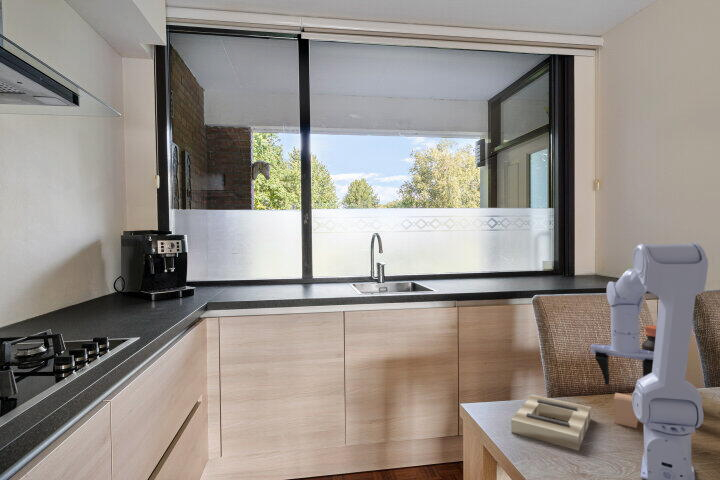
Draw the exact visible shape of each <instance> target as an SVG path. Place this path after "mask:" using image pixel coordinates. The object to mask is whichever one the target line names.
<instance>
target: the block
mask: <svg viewBox="0 0 720 480" xmlns="http://www.w3.org/2000/svg"><path fill="white" fill-rule="evenodd" d="M638 421H639V419H638V418H637V417H636V415H635V413H634V410H633V406H632V395H631V394H625V393H618V392H615V393H614V397H613V422H614V423H613V424H617V425H621V426H627V427H630V428H633V429H634V428H635V429H637V428H638V423H639V422H638Z"/></svg>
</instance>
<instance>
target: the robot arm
mask: <svg viewBox="0 0 720 480" xmlns="http://www.w3.org/2000/svg"><path fill="white" fill-rule="evenodd" d="M632 266H633V268H632V267H631V268H630V267H629V268H627V270H626V271H625V272H623V274H622V275H620V278H619V279H618V280H617V281H615V282H614V281H608V283H607V285H606V300H607V302H608V304H609V306H610V344H595V343H592V344H590V354H593V355H595V357H594V359H595V361H596V363H597V364H598V366H599V368H600V370H601V372H602V376H603V378H604V379H603V380H604V384H605V385H607V386H609V384H610V371H609V370H610V369H609V365H610V364H609V361H610V360H609V359H610V356H614V357H618V358H619V357H620V358H626V359H635V360H641V361H642V360H644V363H643V369H644V377H643V376H642V377H641V378H639V379H637V380H636V384H635V389H634V390H633V392H632V395H631V396H632V406H633V410H634V413H635V415H636V417H637V418H638V421H639V422H640V423H642V424H643V454H642V458H641V469H640V478H641V479H643V480H696V476H695V468H694V466H693V465H692V434H695V433H696V429H697V428H700V427H701V425H703V422H704V410H703V397H702V395H701V393H700V391H699V390H698V389H697V387H695V385H694V384H692V383H691V382H689V381H688V380H686V376H687V374H686V373H687V369H688V360H689V353H690V351H689V350H690V343H691V338H692V337H691V336H692V327H693V321H694V320H693V319H694V312H695V304H696V296H698V295H699V294H701V293H703V292H704V291H705V288H706V284H707V277H708V268H709V260H708V257H707V253H706V251H705V250H704V248H703V247H702V246H701V245H700V244H698V243H697V242H691V243H673V244H672V243H670V244H668V243H667V244H664V243H663V244H645V243H639V244H638V245H637V246H636V247H635V248H634V250H633V252H632ZM647 292H648V293H650V294H653V295H654V296H657V297H658V300H659V301H658V310H657V320H656V326H657V328H656V338H655V348H654V352H652V351H647V350H642V348H640V314H642V307H643V306H642V305H643V303H644V302H643V301H644V295H645V294H646V293H647ZM643 369H642V370H643Z"/></svg>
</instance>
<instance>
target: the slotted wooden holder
mask: <svg viewBox="0 0 720 480" xmlns="http://www.w3.org/2000/svg"><path fill="white" fill-rule="evenodd" d="M549 417H550V418H549ZM553 418H555V419H553ZM557 419H559V420H557ZM562 420H563V421H562ZM591 421H592V406H587V405H583V404H579V403H574V402H570V401H563V400H559V399H556V398H555V399H554V398H550V397H544V396H540V395H535V394H531V395H530V396H529V398H528V399H526V401H525V402H524V403H523V404H522V405H521V407H520V408H519V409H518V411H516V413H515V414H514V415H513V417H512V418H511V420H510V422H511V423H510V425H511V426H510V427H511V428H510V430H511V432H510V433H513V434H516V435H517V434H518V435H520V436H524V437H528V438H530V439H534V440H538V441H541V442H546V443H550V444H553V445H557V446H561V447H564V448H568V449H571V450H575V451H579V450H580V447H581V445H582V444H583V440H584V438H585V436H586V434H587V430H588V428H589V425H590V423H591Z"/></svg>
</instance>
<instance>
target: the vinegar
mask: <svg viewBox="0 0 720 480" xmlns="http://www.w3.org/2000/svg"><path fill="white" fill-rule="evenodd" d="M656 328H657V325H652V324H651V325H646V326H645V336H646V337H647V338H646V340H645V341H643V342H642V343H641V349H642V350H647V351H652V352H654V348H655V338H656ZM641 361H642V362H641V363H642V369H641V370H642V377H644V369H643V363H644V360H641Z"/></svg>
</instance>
